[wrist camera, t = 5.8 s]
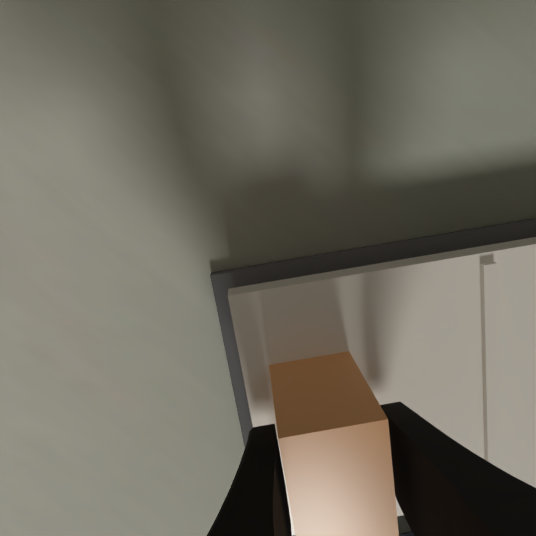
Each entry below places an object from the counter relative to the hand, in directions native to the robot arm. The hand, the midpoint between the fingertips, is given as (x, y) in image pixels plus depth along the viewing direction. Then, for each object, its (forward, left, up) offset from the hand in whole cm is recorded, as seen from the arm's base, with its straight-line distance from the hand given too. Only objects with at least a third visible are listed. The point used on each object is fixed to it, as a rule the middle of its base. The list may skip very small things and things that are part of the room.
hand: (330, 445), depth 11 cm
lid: (-4, 0, -3) cm, 5 cm away
